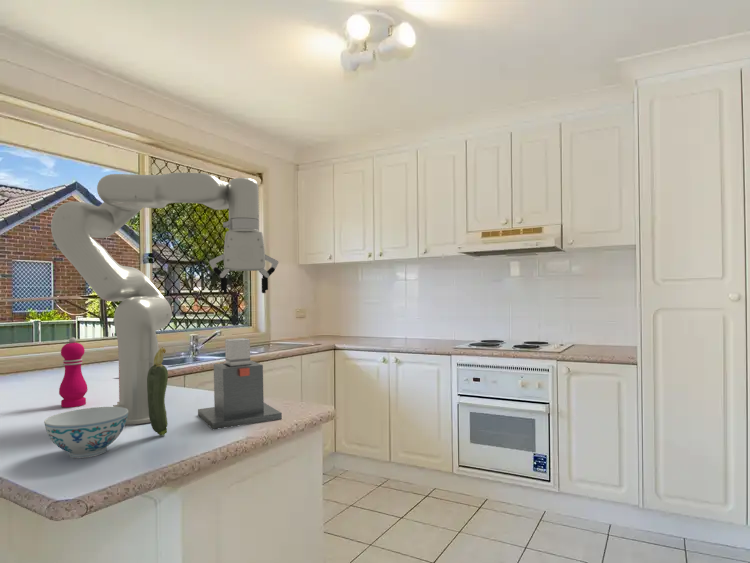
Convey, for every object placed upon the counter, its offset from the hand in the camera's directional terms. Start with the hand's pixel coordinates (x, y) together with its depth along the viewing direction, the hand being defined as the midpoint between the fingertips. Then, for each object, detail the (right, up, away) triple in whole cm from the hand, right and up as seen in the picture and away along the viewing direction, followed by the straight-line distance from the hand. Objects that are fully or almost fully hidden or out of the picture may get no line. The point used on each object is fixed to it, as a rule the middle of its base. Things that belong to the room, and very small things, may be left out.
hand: (244, 293), depth 130 cm
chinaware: (-25, -32, -26) cm, 49 cm away
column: (-2, -30, 0) cm, 30 cm away
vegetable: (-16, -32, -15) cm, 39 cm away
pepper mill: (-55, -34, +19) cm, 67 cm away
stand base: (-2, -32, 0) cm, 32 cm away
